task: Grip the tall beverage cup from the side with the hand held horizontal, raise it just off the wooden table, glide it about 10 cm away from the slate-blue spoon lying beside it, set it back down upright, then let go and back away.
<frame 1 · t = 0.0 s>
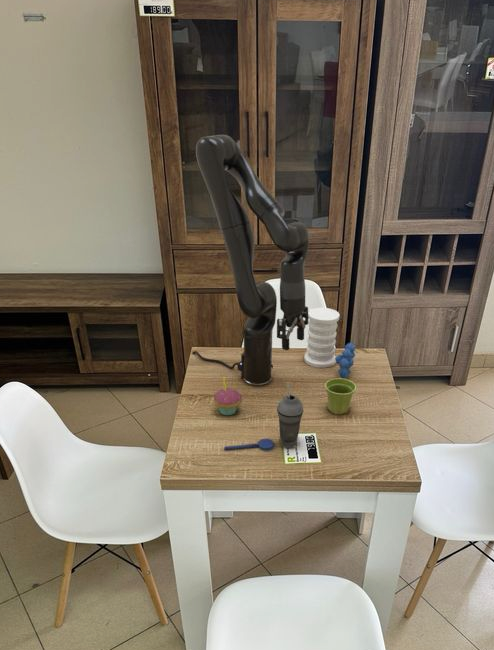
hand: (293, 344, 168), 17 cm above the table, tool pointing down, fingers open, 8 cm apart
decorative container: (320, 360, 197), on the table
grapes: (342, 375, 188), on the table
beverage cup: (288, 444, 154), on the table
spoon: (265, 445, 153), on the table
plant pot: (337, 410, 170), on the table
cupcake: (228, 411, 167), on the table
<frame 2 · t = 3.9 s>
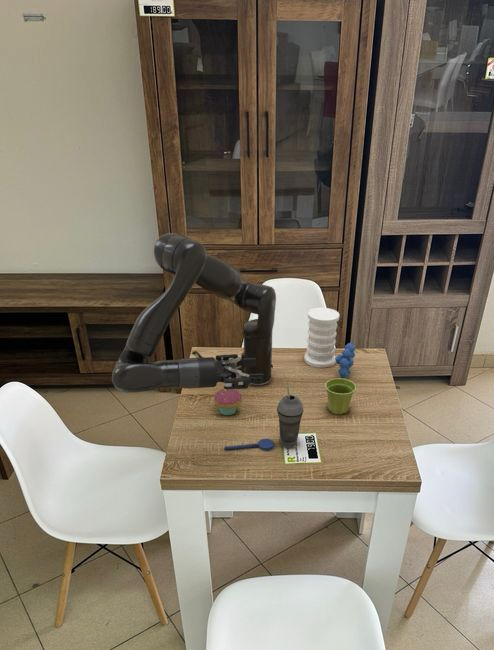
hand: (259, 369, 139), 25 cm above the table, tool horizontal, fingers open, 8 cm apart
nothing on the table moved.
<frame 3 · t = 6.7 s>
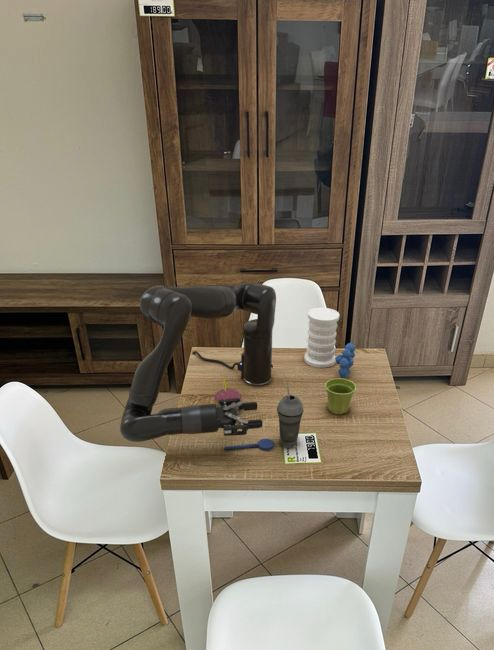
hand: (259, 414, 146), 11 cm above the table, tool horizontal, fingers open, 8 cm apart
nothing on the table moved.
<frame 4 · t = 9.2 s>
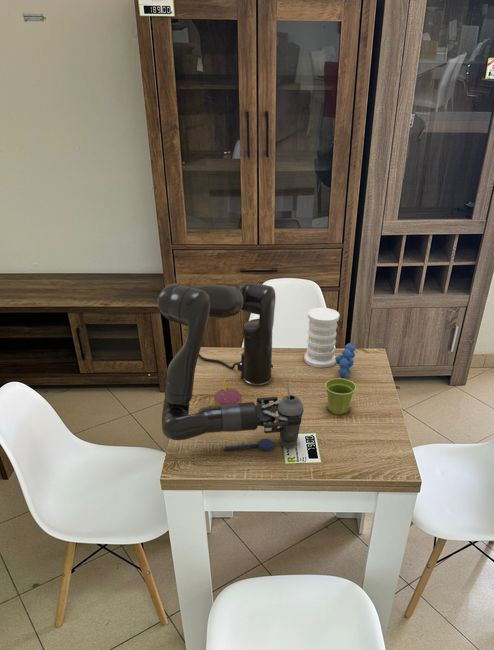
hand: (297, 412, 149), 10 cm above the table, tool horizontal, fingers closed on beverage cup, 7 cm apart
beverage cup: (288, 444, 154), on the table, touching gripper
everything else where it was.
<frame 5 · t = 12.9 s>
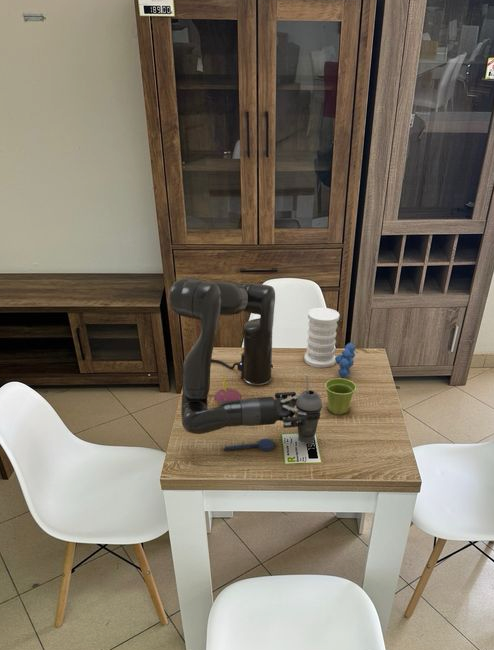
hand: (316, 407, 149), 12 cm above the table, tool horizontal, fingers closed on beverage cup, 7 cm apart
beverage cup: (306, 439, 155), point 1 cm above the table, touching gripper
everything else where it was.
when the fingers open (10 cm above the table, at t = 16.5 s): beverage cup stays where it is, on the table.
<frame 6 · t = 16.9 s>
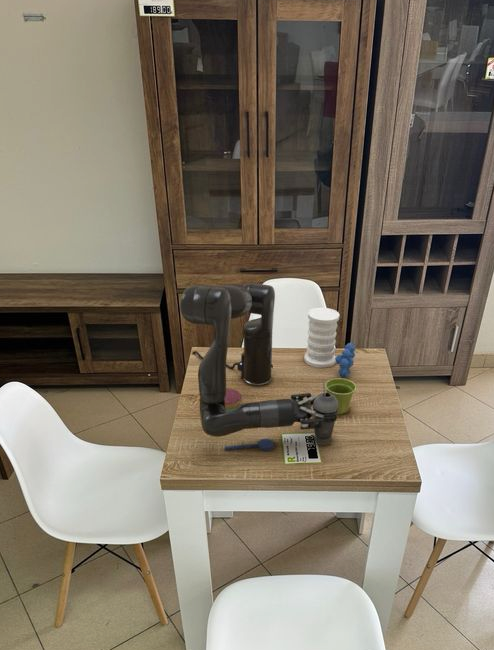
hand: (332, 408, 151), 11 cm above the table, tool horizontal, fingers open, 8 cm apart
beverage cup: (322, 440, 156), on the table
everything else where it was.
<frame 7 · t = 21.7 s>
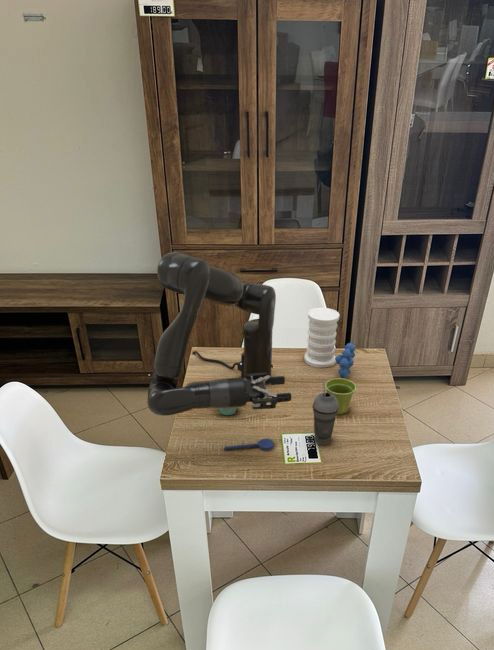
hand: (287, 388, 144), 18 cm above the table, tool horizontal, fingers open, 8 cm apart
nothing on the table moved.
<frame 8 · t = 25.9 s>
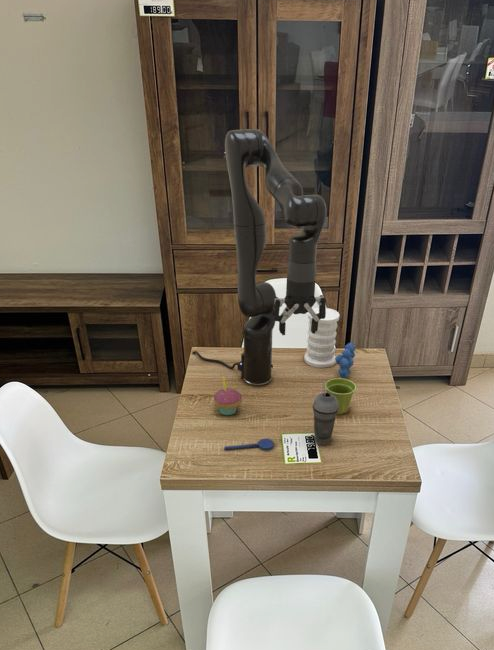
hand: (298, 333, 150), 28 cm above the table, tool pointing down, fingers open, 8 cm apart
nothing on the table moved.
at the end: beverage cup inside the target area on the table beside the spoon (0.5 cm from its centre), on the table; beverage cup tilted 0°; the gripper is holding nothing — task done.
